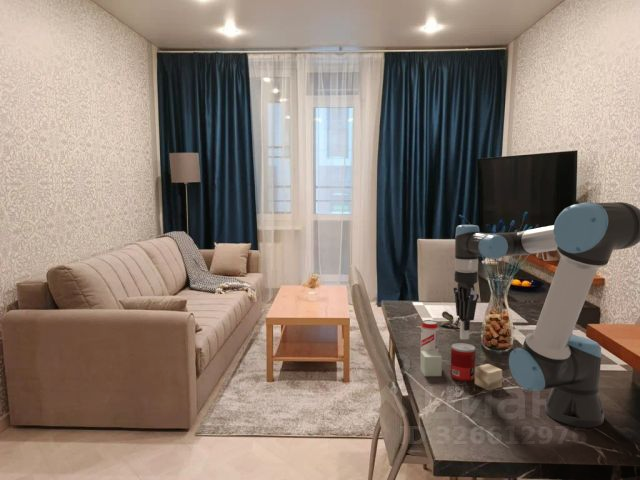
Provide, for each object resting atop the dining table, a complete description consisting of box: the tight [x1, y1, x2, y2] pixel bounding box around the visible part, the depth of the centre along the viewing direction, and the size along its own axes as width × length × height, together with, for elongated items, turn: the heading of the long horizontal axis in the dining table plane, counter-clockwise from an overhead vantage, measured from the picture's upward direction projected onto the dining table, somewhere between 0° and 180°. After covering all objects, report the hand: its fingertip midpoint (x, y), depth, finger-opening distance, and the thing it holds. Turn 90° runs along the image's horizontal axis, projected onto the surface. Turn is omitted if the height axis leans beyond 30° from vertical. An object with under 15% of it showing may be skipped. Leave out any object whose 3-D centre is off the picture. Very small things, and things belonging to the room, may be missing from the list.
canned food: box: [450, 342, 476, 382], centre depth 168 cm, size 8×8×11 cm
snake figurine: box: [438, 311, 460, 328], centre depth 227 cm, size 8×7×9 cm
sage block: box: [419, 350, 443, 377], centre depth 172 cm, size 6×6×7 cm
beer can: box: [419, 319, 440, 362], centre depth 180 cm, size 6×6×16 cm
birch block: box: [474, 363, 503, 392], centre depth 162 cm, size 6×6×6 cm
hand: (464, 338), depth 167 cm, fingers closed
